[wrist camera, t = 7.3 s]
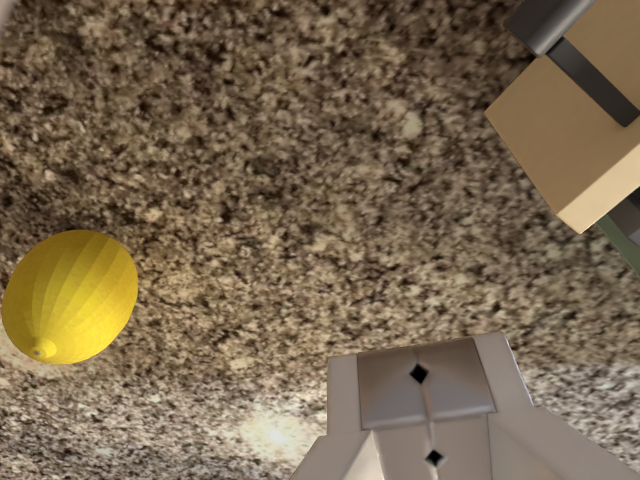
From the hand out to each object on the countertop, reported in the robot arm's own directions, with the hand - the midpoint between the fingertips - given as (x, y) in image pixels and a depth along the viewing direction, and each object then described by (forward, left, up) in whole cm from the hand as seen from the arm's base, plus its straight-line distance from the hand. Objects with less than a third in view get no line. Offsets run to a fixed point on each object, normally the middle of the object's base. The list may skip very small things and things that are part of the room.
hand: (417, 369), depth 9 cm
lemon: (+15, -5, -18) cm, 24 cm away
